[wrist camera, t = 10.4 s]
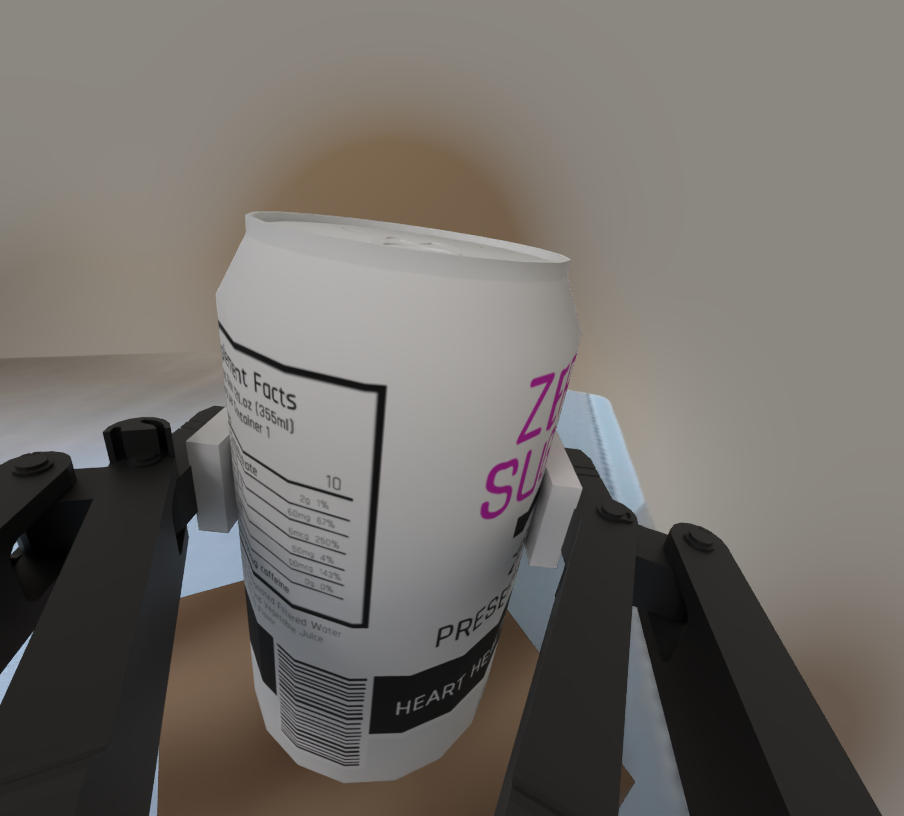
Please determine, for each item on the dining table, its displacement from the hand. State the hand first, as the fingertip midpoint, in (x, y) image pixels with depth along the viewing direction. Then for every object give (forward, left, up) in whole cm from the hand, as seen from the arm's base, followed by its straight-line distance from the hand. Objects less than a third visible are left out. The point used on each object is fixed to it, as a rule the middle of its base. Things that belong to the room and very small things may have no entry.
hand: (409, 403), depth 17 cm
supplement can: (+4, -2, -9) cm, 10 cm away
